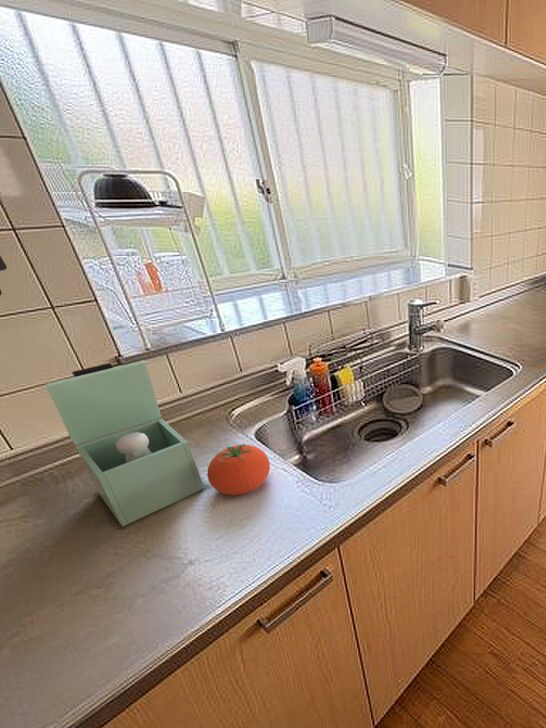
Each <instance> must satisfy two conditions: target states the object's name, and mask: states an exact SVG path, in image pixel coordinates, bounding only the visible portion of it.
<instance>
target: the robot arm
mask: <svg viewBox="0 0 546 728" xmlns="http://www.w3.org/2000/svg"><path fill="white" fill-rule="evenodd" d="M7 268H8V266H7V264H6V262H5V261H4V259H3V257H2V256H1V255H0V272H1V271H5V270H7ZM2 293H3V292H2V290H1V289H0V296H2Z"/></svg>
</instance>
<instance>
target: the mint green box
mask: <svg viewBox="0 0 546 728" xmlns="http://www.w3.org/2000/svg"><path fill="white" fill-rule="evenodd" d="M136 432H138V433H143V434H145V435H146V436H147V437H148V439H149V444H148V446H147V447H148V449H149V450H150V451H151V453H152V454H149V455H146V456H144V457H141V458H138V459H136V460H133V461H131V462H128V463H126V457H125V454H123V453H120V452H119V451H118V449H117V447H116V442H117V440H118V439H119V438H120V437H122V436H124V435H126V434H130V433H136ZM75 449H76V451H77V453H78V454H79V457H80V459H81V461H82V463H83V465H84V467H85V469H86V471H87V472H88V475H89V477H90V479H91V480H92V482H93V484H94V486H95V488H96V490H97V492H98V494H99V496H100V498H101V499H102V500H103V501H104V503H105V504H106V506H107V507H108V508H109V510H110V511H111V513H112V514H113V516H114V517H115V518H116V520H117V521H118V522H119V525H120V526H121V527H124V526H127V525H128V524H131V523H133V522H136V521H137V520H140V519H142V518H144V517H146V516H149V515H151V514H152V513H154V512H157V511H159V510H162V509H163V508H166V507H167V506H170V505H172V504H174V503H176V502H179V501H180V500H182V499H184V498H187V497H189V496H191V495H193V494H195V493H197V492H198V493H199V492H200V491H202V490H204V489H205V486H204V483H203V480H202V478H201V475H200V471H199V470H198V466H197V464H196V461H195V458H194V456H193V453H192V450H191V447H190V445H189V442H188V441H187V440H186V439H185V438H184V437H183V436H182V435H181V434H179V433H178V432H177V431H176V430H175V429H174V428H173V427H171V426H170V425H169V424H168V423H167V422H166V421H165V420H164V419H163V418H158V419H154V420H151V421H148V422H145V423H142V424H139V425H136V426H133V427H130V428H127V429H124V430H121V431H118V432H115V433H112V434H109V435H106V436H103V437H100V438H97V439H94V440H91V441H88V442H85V443H82V444H79V445H76V446H75Z"/></svg>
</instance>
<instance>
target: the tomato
mask: <svg viewBox="0 0 546 728" xmlns="http://www.w3.org/2000/svg"><path fill="white" fill-rule="evenodd" d="M270 469H271V464H270V459H269V457H268V455H267V453H266V452H264V450H262V448H260V447H257V446H254V445H250V444H246V443H244V444H243V443H242V444H237V445H233V446H226V448H224V449H223V450H221V451H220V452H218V453H217V454H215V455H214V457H213V458H212V459H211V461H210V462H209V464H208V467H207V473H206V475H207V480H208V482H209V484H210V485H211V487H212V488H213V489H214V490H215V491H217V492H219V493H221V494H224V495H228V496H240V495H245V494H248V493H250V492H253V491H254V490H256V489H258V488H259V487H260V486H261V485H262V484H263V483H264V482H265V481H266V479H267V478H268V476H269V473H270Z"/></svg>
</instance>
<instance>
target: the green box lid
mask: <svg viewBox="0 0 546 728" xmlns="http://www.w3.org/2000/svg"><path fill="white" fill-rule="evenodd" d="M71 374H72V376H73V377H70V378H65V379H61V380H56V381H53V382H48V383H45V384H44V385H45V387H46V390H47V391H48V394H49V395H50V397H51V400H52V402H53V404H54V406H55V408H56V410H57V413H58V414H59V416H60V419H61V420H62V423H63V425H64V427H65V429H66V431H67V434H68V436H69V438H70V440H71V441H72V443H73V445H74V446H75V447H76V446H79V445H83V444H86V443H89V442H92V441H95V440H98V439H101V438H104V437H107V436H110V435H113V434H116V433H119V432H122V431H125V430H128V429H131V428H134V427H137V426H140V425H143V424H146V423H149V422H152V421H155V420H158V419H162V415H161V412H160V407H159V404H158V401H157V398H156V394H155V391H154V387H153V384H152V380H151V377H150V373H149V371H148V367H147V363H146V361H144V360H140V361H135V362H132V363H127V364H123V365H119V366H115V367H114V366H113V365H112V363H111V362H108V363H104V364H100V365H95V366H91V367H86V368H82V369H78V370H73V371H71Z"/></svg>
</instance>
